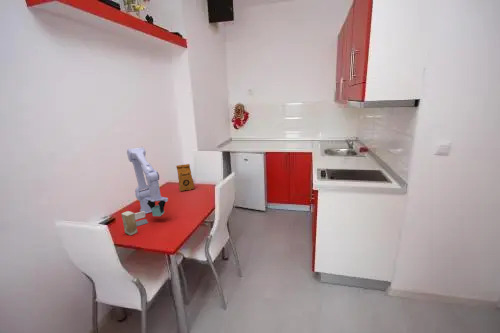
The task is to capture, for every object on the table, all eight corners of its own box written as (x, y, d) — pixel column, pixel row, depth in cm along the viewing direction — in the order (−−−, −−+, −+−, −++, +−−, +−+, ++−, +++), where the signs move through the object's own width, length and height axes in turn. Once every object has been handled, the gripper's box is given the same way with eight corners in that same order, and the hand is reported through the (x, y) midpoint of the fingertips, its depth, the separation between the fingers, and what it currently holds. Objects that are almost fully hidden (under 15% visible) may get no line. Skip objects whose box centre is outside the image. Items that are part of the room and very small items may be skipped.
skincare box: (124, 233, 139) (120, 213, 135) (131, 229, 142) (128, 210, 139) (131, 235, 135) (126, 215, 132) (138, 232, 138) (134, 212, 135)
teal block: (152, 216, 148) (151, 208, 147) (157, 212, 153) (156, 205, 152) (160, 216, 147) (158, 208, 146) (164, 212, 152) (163, 205, 151)
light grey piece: (125, 222, 152) (123, 216, 151) (145, 216, 159) (144, 210, 158) (128, 230, 142) (127, 223, 141) (149, 223, 148) (148, 217, 147)
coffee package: (194, 190, 202) (191, 164, 197) (179, 192, 200) (175, 166, 194) (194, 186, 212) (191, 162, 206) (179, 188, 209) (176, 164, 204)
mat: (134, 222, 151) (134, 222, 151) (145, 219, 155) (145, 218, 155) (136, 226, 145) (136, 226, 145) (148, 223, 149) (148, 222, 149)
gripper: (140, 193, 144) (143, 214, 147) (162, 193, 141) (165, 215, 145) (147, 189, 151) (150, 209, 154) (168, 189, 148) (171, 210, 151)
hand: (158, 211), depth 150 cm, fingers closed on teal block, 5 cm apart
